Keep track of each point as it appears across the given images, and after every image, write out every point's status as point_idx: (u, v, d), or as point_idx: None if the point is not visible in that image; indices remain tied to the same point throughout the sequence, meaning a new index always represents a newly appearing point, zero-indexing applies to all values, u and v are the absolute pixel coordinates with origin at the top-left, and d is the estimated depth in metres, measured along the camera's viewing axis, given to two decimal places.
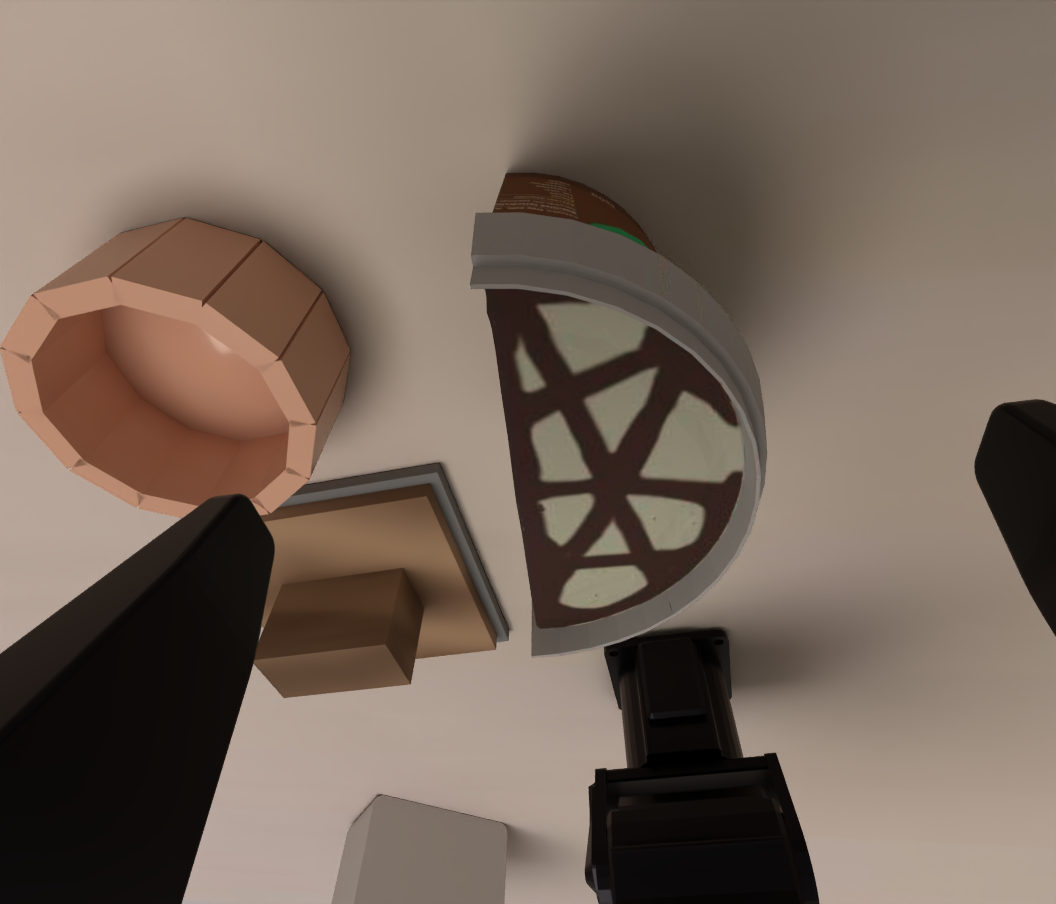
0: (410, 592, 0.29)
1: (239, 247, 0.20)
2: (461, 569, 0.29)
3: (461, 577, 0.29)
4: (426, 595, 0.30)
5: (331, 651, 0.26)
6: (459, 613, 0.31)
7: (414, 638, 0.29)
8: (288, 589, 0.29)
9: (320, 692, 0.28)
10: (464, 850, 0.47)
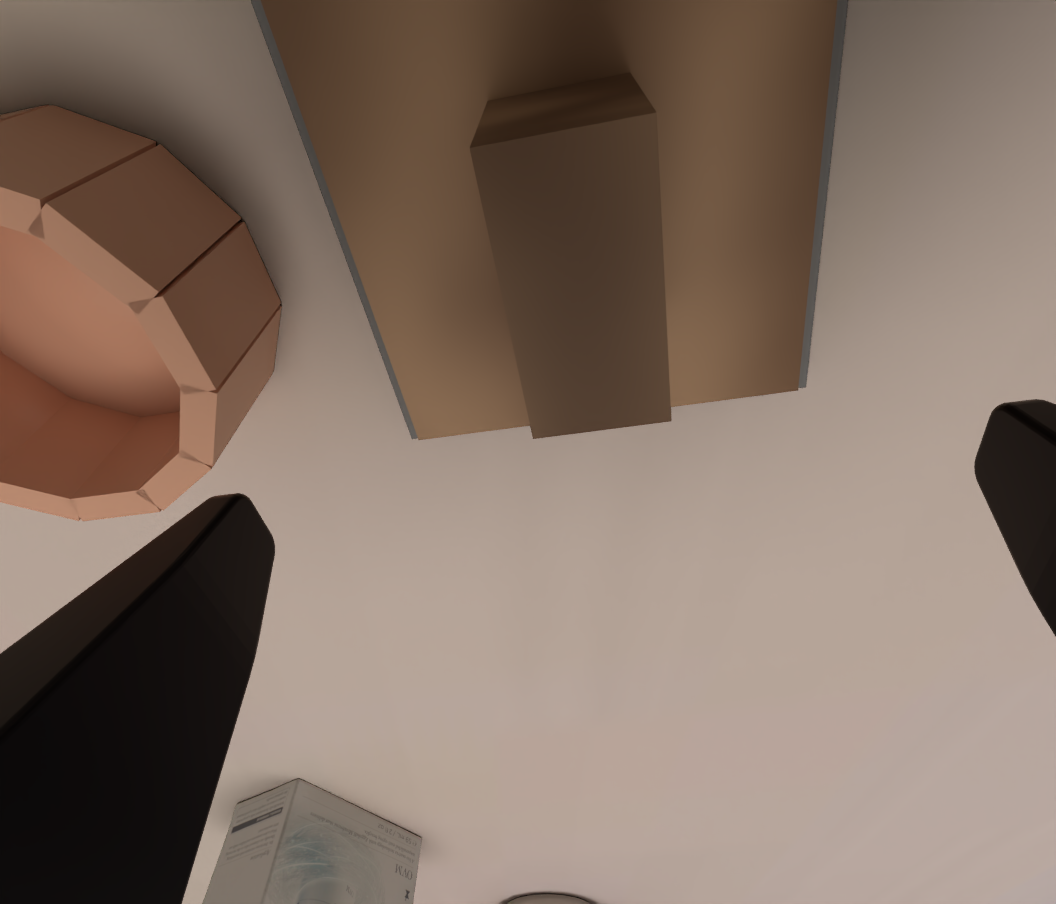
0: (547, 92, 0.13)
1: None
2: None
3: None
4: (583, 56, 0.13)
5: (501, 283, 0.12)
6: None
7: (616, 94, 0.11)
8: None
9: (662, 346, 0.12)
10: None
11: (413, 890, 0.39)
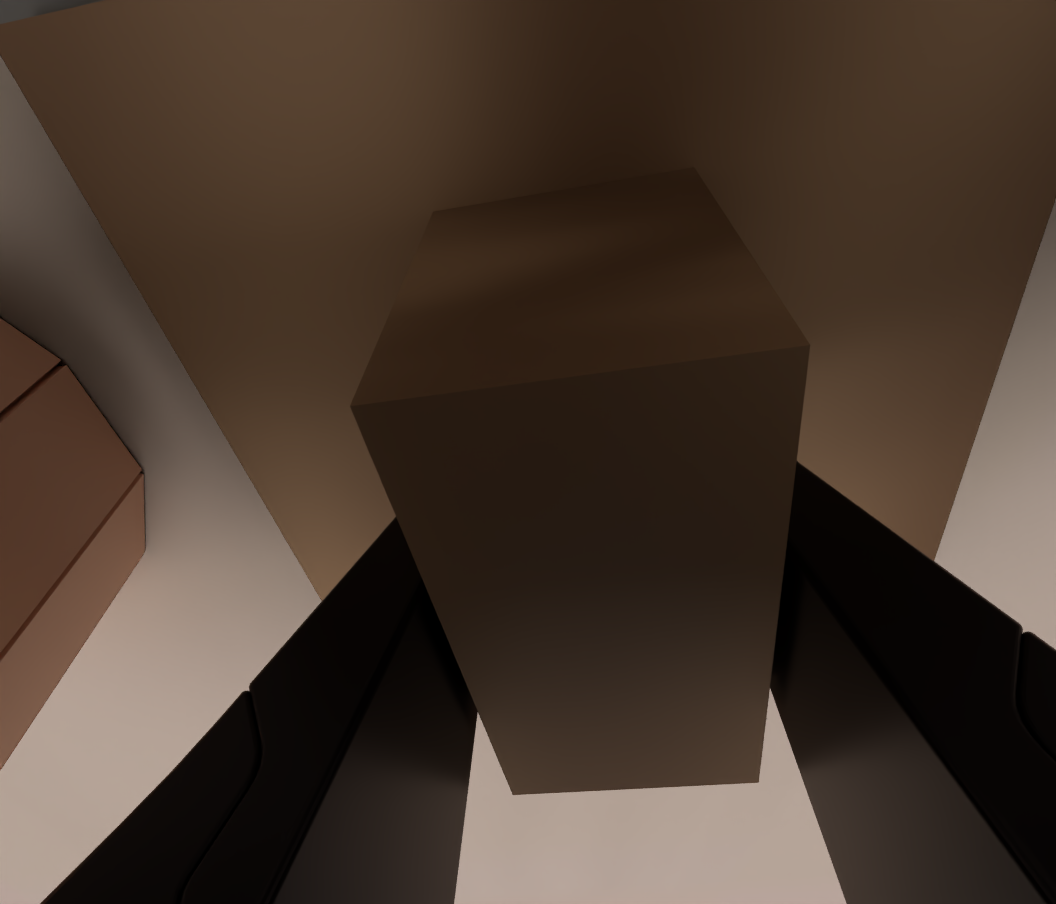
0: (541, 204, 0.07)
1: None
2: None
3: None
4: (607, 138, 0.07)
5: (444, 618, 0.06)
6: None
7: (683, 238, 0.06)
8: None
9: (757, 701, 0.06)
10: None
11: None
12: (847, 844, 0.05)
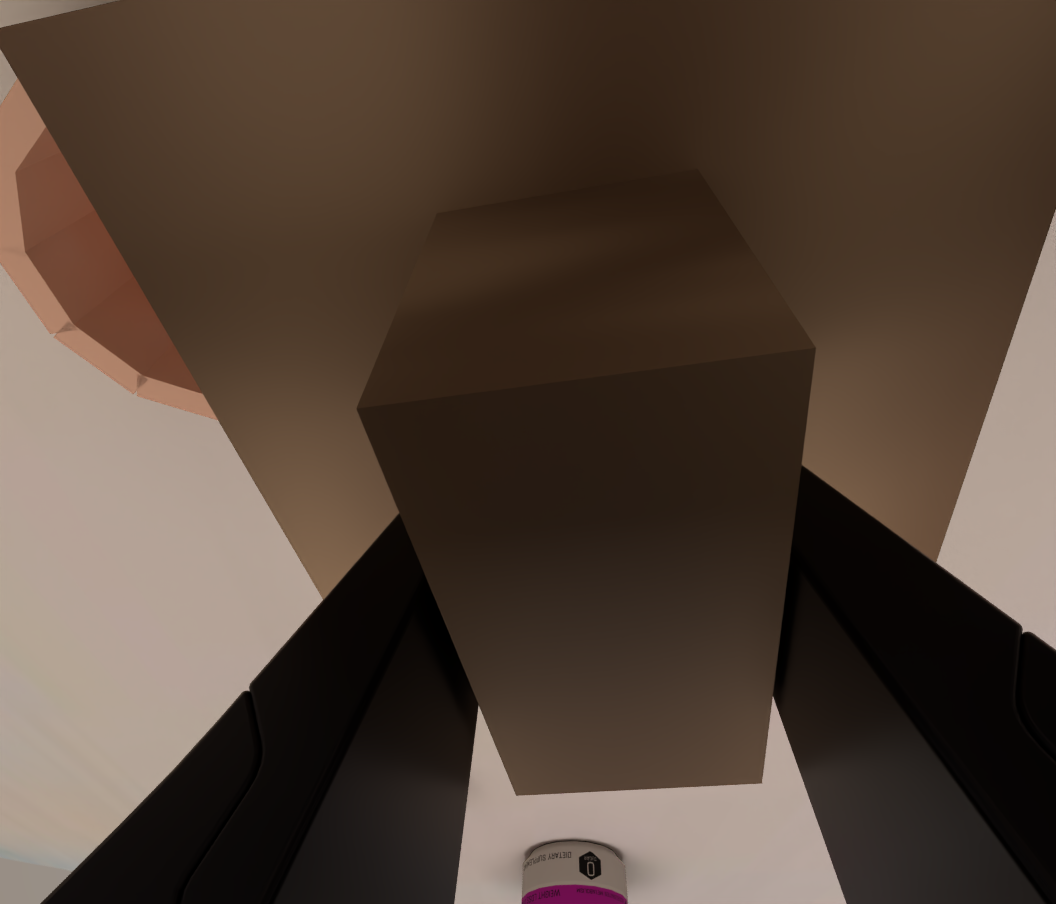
0: (544, 206, 0.07)
1: None
2: None
3: None
4: (610, 141, 0.07)
5: (448, 619, 0.06)
6: None
7: (686, 241, 0.06)
8: None
9: (760, 702, 0.07)
10: None
11: None
12: (847, 844, 0.05)
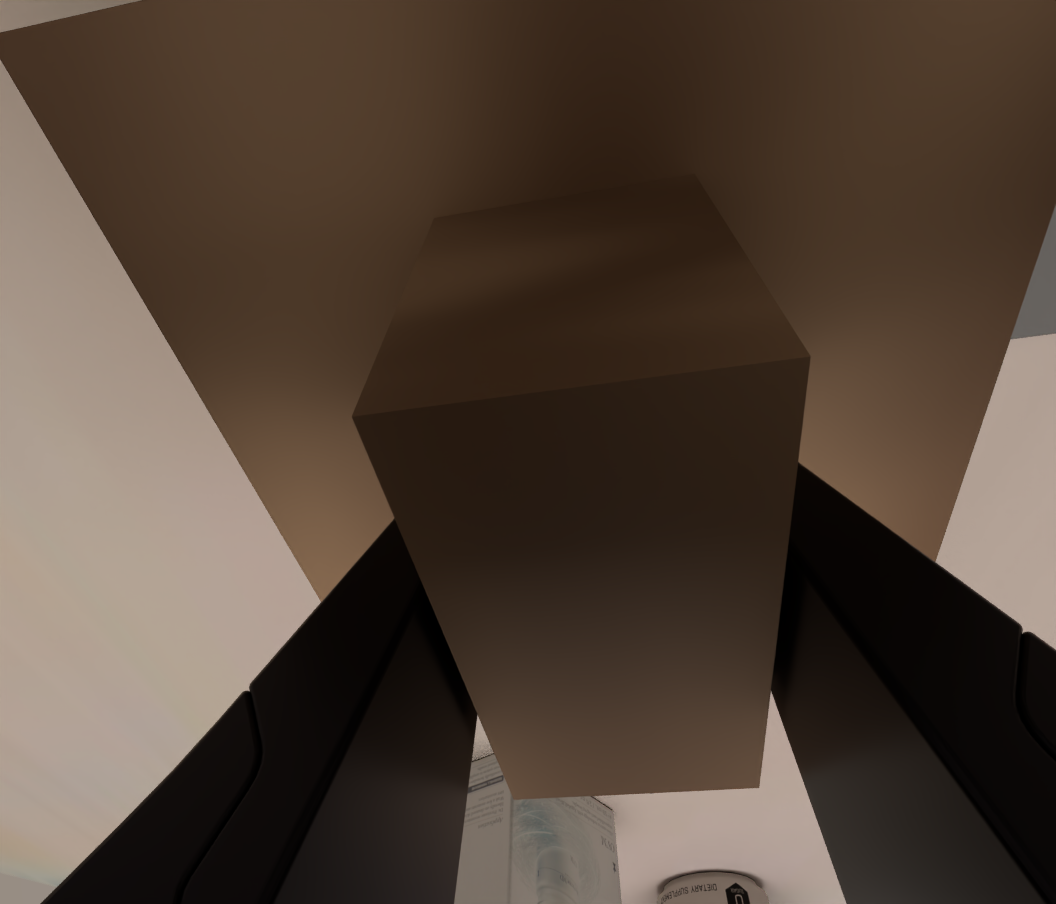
0: (541, 211, 0.07)
1: None
2: None
3: None
4: (607, 146, 0.07)
5: (444, 625, 0.06)
6: None
7: (683, 247, 0.06)
8: None
9: (757, 708, 0.06)
10: None
11: (617, 863, 0.38)
12: (847, 844, 0.05)
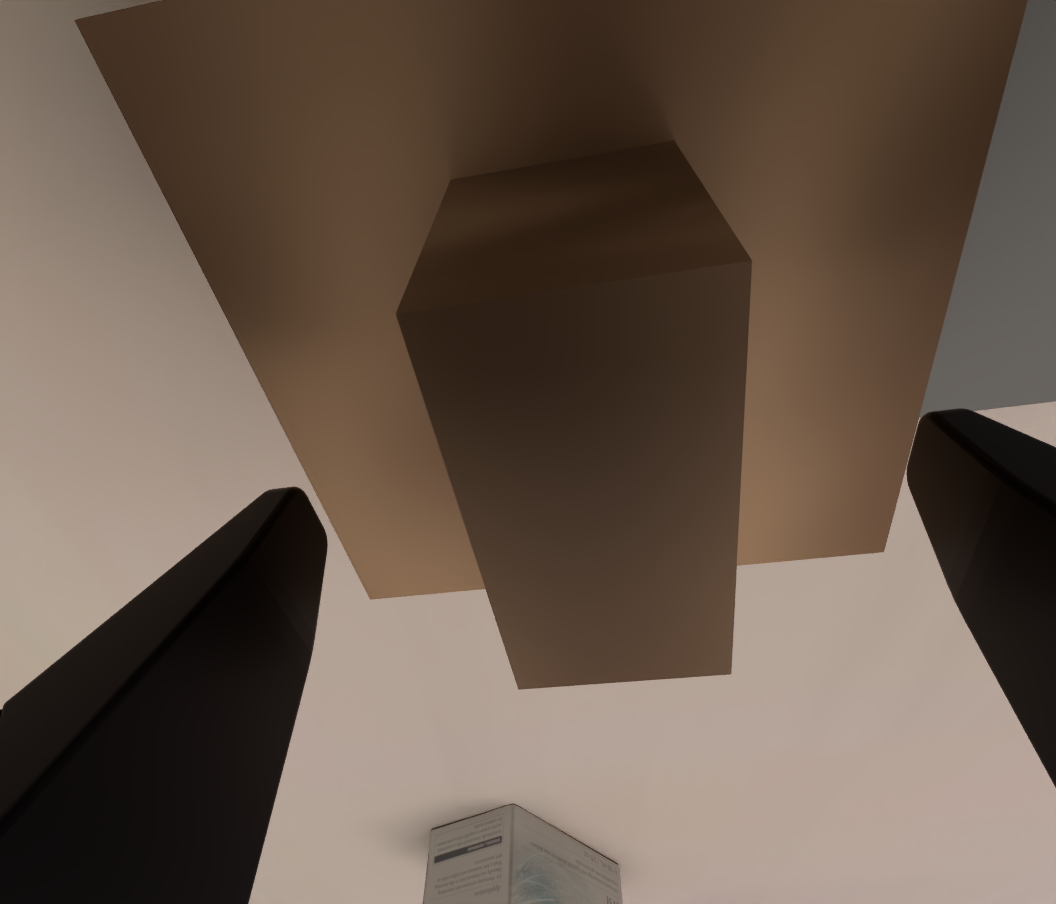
0: (543, 172, 0.08)
1: None
2: None
3: None
4: (600, 116, 0.08)
5: (463, 507, 0.07)
6: None
7: (660, 194, 0.07)
8: None
9: (726, 590, 0.08)
10: None
11: None
12: None
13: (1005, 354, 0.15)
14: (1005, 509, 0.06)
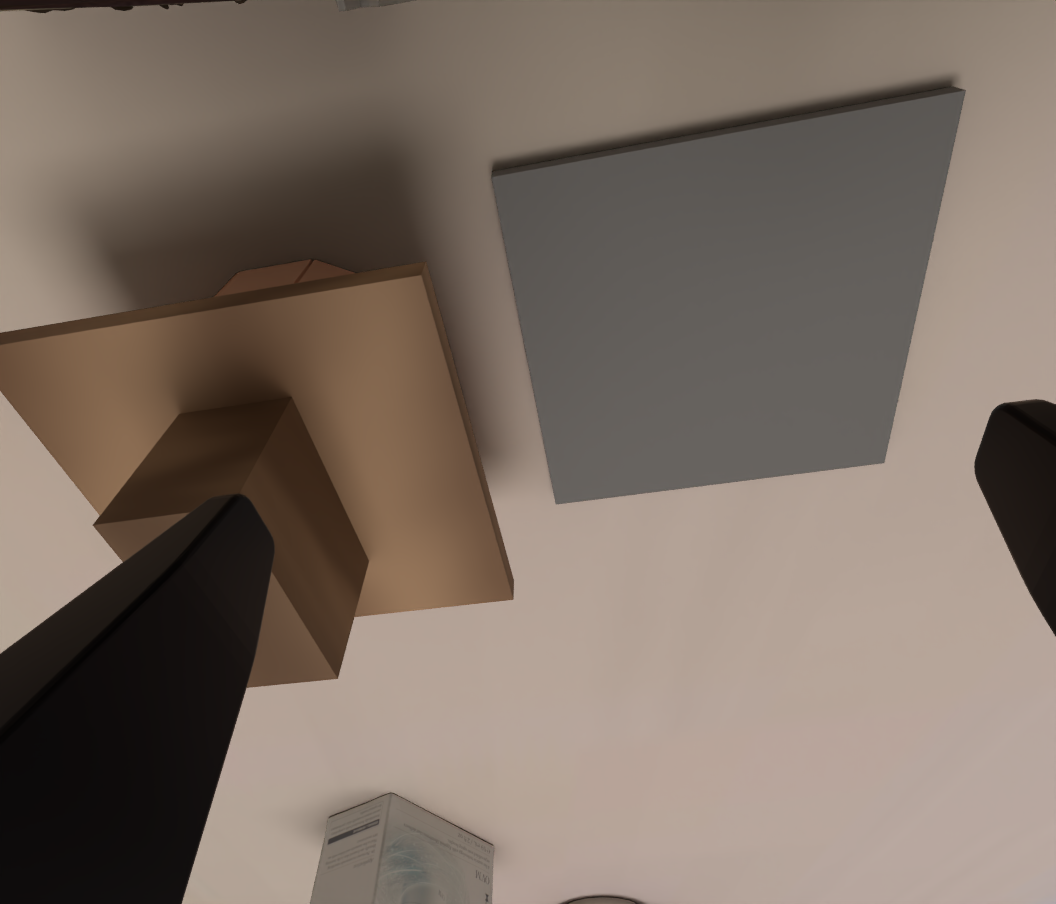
0: (220, 415, 0.16)
1: None
2: (162, 315, 0.15)
3: (173, 319, 0.14)
4: (249, 387, 0.15)
5: None
6: (296, 336, 0.15)
7: (246, 448, 0.14)
8: None
9: (306, 635, 0.15)
10: None
11: (491, 894, 0.42)
12: None
13: (630, 461, 0.23)
14: None
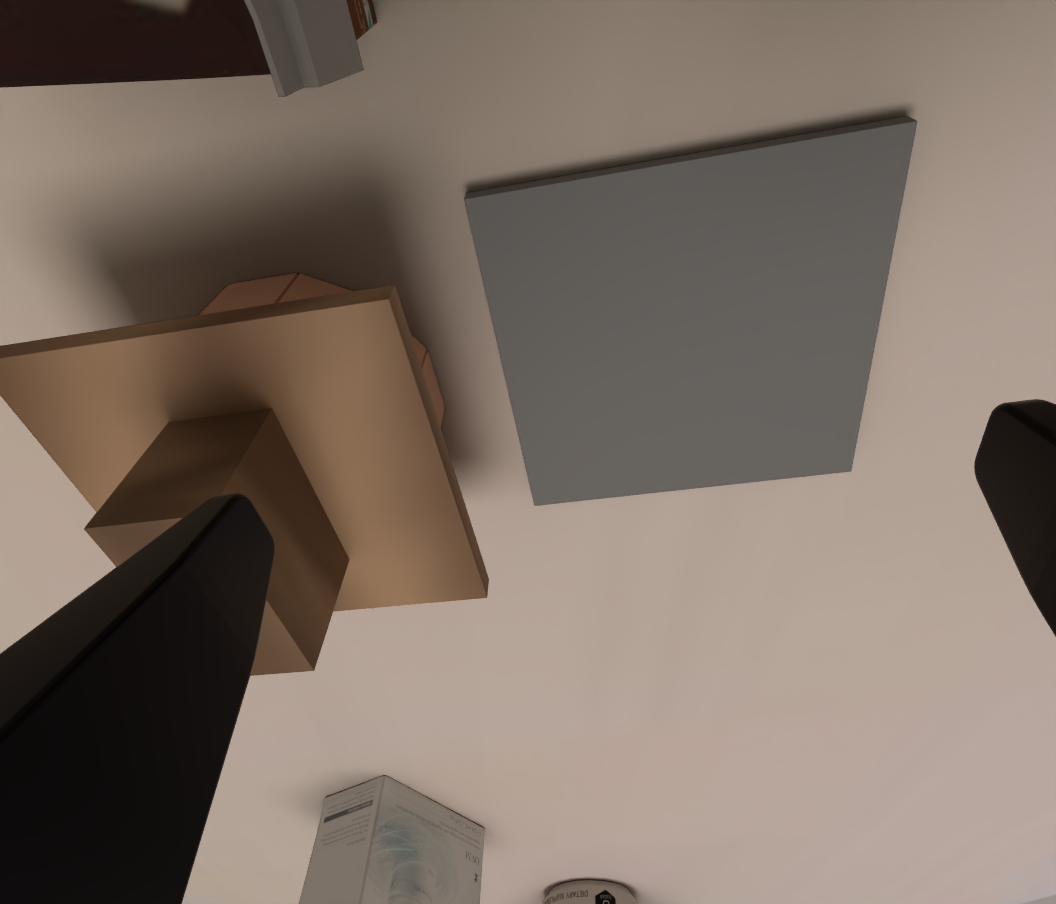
0: (205, 425, 0.17)
1: None
2: (150, 332, 0.16)
3: (160, 337, 0.15)
4: (232, 398, 0.17)
5: None
6: (274, 353, 0.16)
7: (226, 458, 0.15)
8: None
9: (283, 630, 0.16)
10: None
11: (480, 874, 0.44)
12: None
13: (604, 466, 0.24)
14: None
